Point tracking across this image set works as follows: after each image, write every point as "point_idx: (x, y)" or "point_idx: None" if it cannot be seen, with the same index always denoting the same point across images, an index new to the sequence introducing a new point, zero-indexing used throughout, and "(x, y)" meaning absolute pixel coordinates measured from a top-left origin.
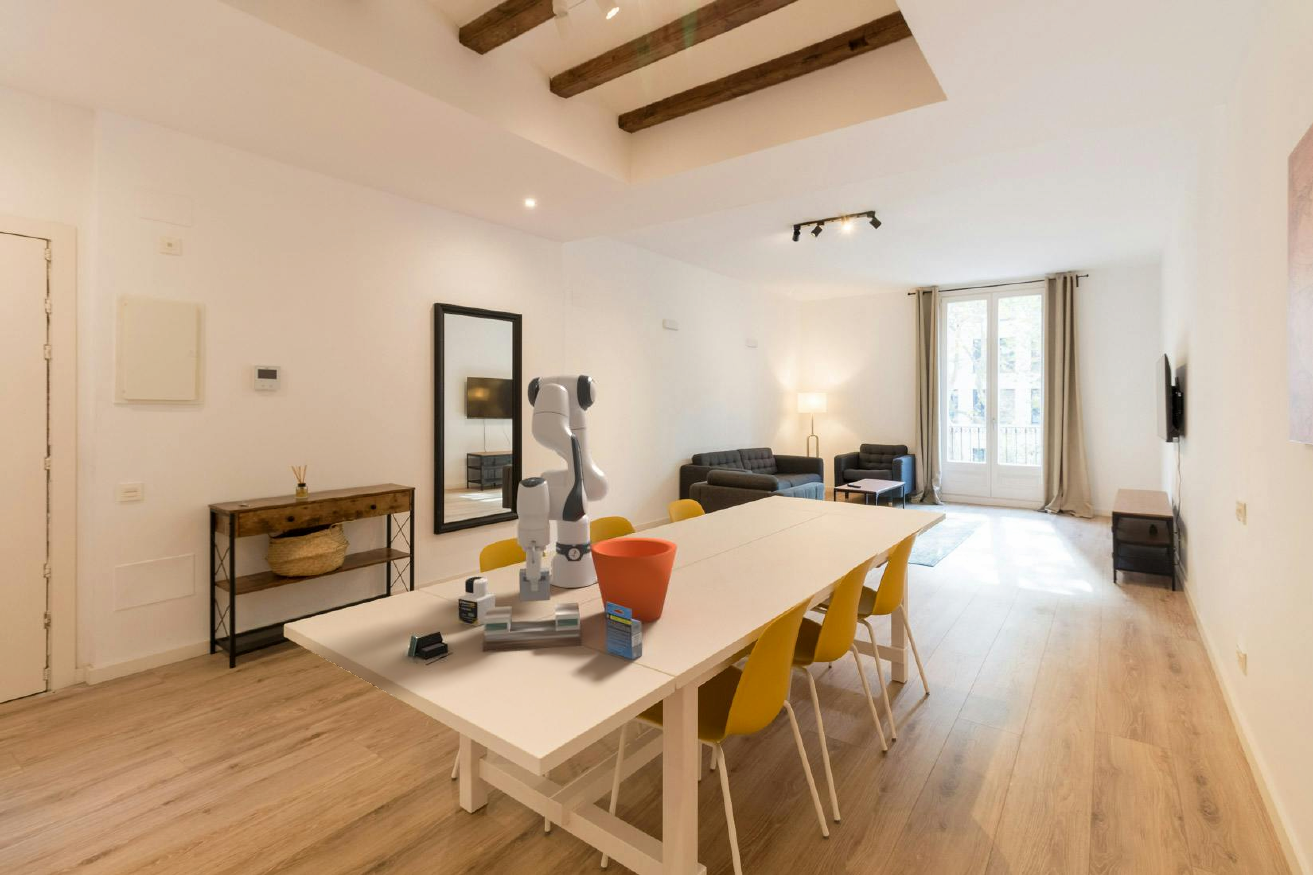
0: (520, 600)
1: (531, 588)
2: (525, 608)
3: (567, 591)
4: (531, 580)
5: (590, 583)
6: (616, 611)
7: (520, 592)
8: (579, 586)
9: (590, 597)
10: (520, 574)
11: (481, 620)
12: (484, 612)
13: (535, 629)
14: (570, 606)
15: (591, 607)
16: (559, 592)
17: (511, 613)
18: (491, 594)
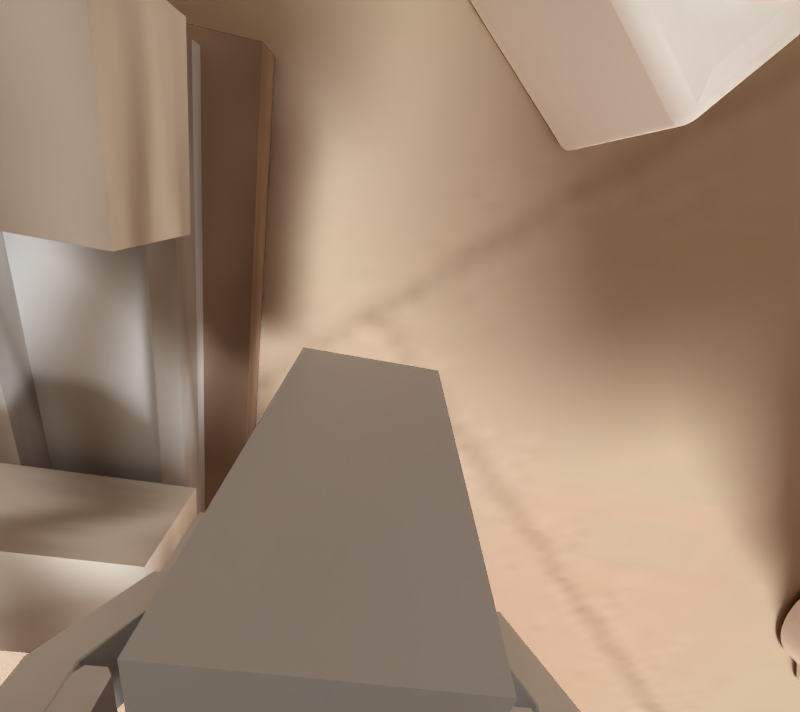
0: (300, 357)
1: (187, 532)
2: (653, 361)
3: (775, 566)
4: (49, 651)
5: (790, 654)
6: None
7: (278, 397)
8: (790, 617)
9: (626, 620)
10: (149, 623)
11: (489, 11)
12: (528, 23)
13: (129, 363)
14: None
15: (497, 603)
16: (789, 538)
17: (151, 240)
18: (690, 74)
